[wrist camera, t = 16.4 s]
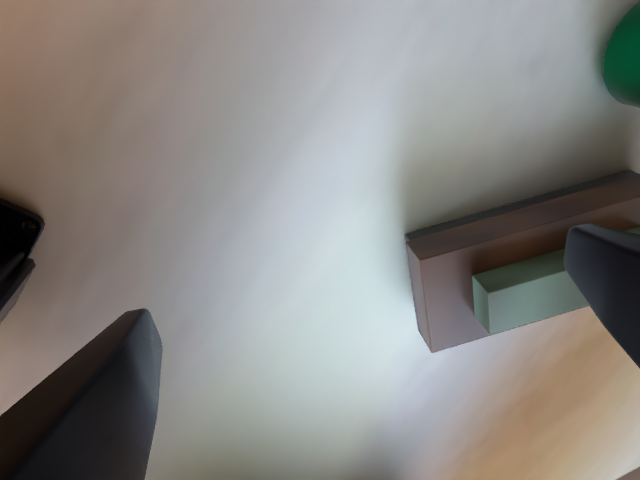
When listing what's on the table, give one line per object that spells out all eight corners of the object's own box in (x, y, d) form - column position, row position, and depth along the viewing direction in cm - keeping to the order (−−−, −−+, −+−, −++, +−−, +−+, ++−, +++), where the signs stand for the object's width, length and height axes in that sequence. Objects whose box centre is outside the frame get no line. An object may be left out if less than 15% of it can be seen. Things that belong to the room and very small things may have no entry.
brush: (409, 315, 27) (444, 375, 22) (395, 229, 24) (432, 278, 19) (625, 251, 27) (700, 297, 23) (637, 160, 25) (725, 192, 20)
